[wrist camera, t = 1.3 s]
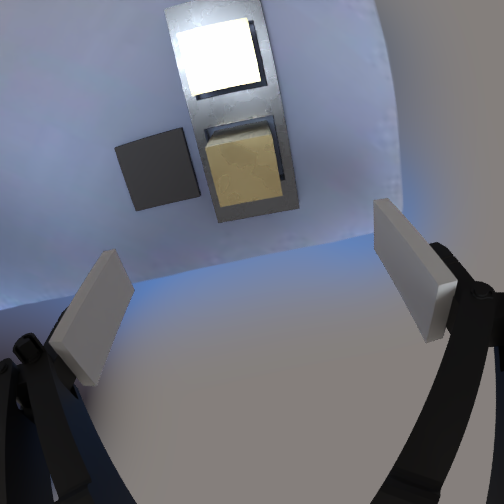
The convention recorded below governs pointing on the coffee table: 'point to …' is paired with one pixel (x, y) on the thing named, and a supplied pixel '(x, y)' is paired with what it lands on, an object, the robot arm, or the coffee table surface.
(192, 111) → the rail
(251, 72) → the block
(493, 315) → the robot arm
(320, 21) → the coffee table surface
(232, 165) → the tan textured cube
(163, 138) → the rubber pad
